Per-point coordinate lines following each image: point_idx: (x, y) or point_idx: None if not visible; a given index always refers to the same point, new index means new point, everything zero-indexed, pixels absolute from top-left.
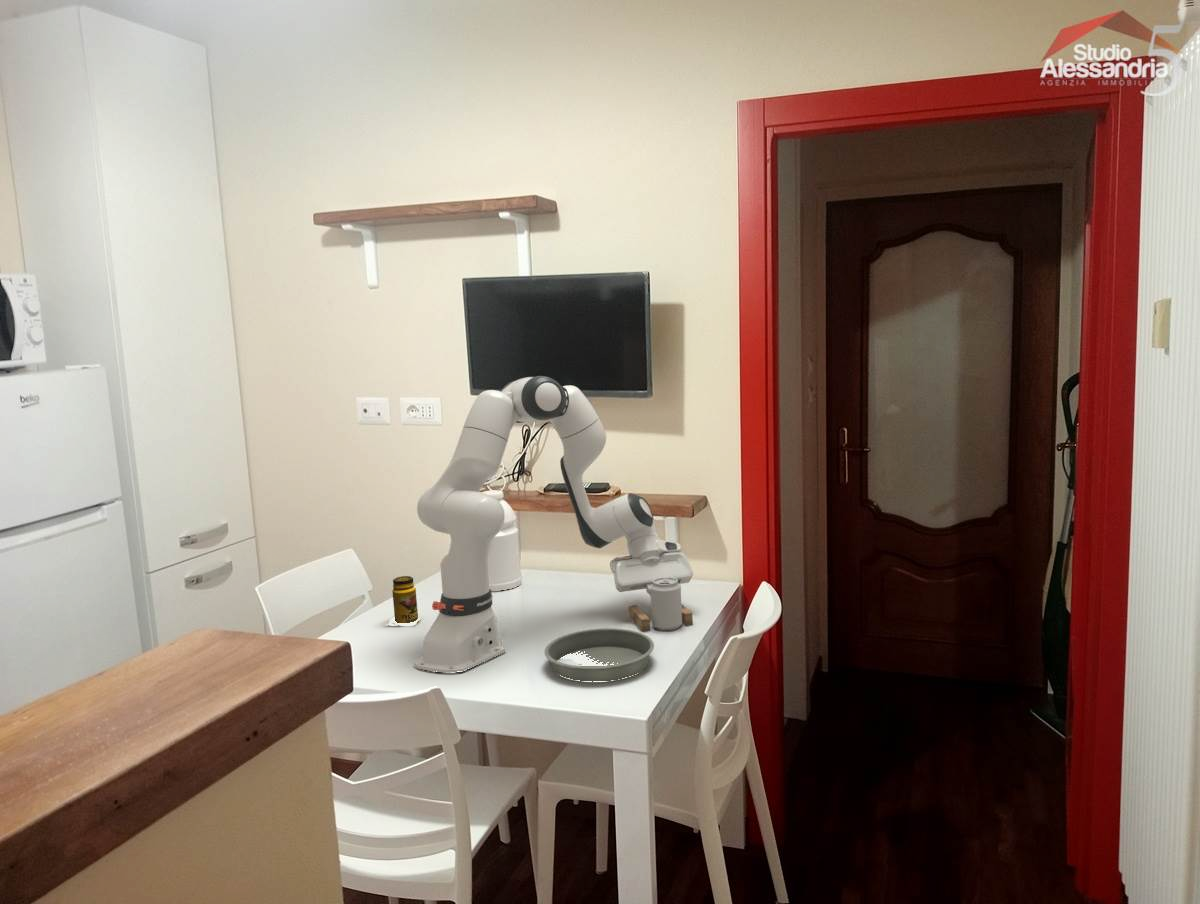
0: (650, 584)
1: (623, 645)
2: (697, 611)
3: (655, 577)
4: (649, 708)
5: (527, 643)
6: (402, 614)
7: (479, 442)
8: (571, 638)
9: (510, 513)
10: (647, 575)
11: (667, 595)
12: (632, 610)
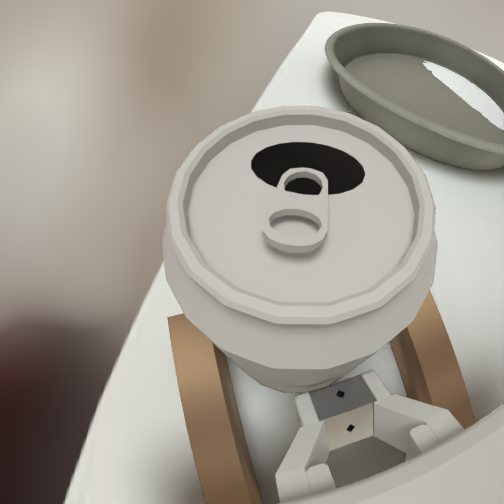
0: (438, 443)
1: (422, 148)
2: (143, 493)
3: (409, 493)
4: (315, 17)
5: None
6: None
7: None
8: None
9: None
10: (500, 474)
11: (288, 154)
12: (467, 399)
